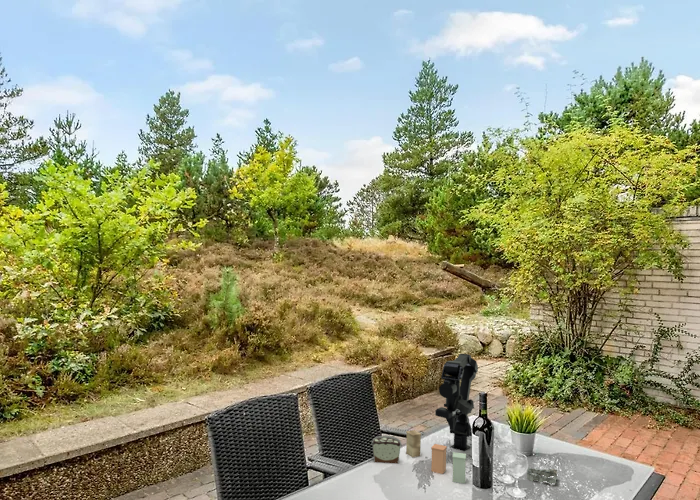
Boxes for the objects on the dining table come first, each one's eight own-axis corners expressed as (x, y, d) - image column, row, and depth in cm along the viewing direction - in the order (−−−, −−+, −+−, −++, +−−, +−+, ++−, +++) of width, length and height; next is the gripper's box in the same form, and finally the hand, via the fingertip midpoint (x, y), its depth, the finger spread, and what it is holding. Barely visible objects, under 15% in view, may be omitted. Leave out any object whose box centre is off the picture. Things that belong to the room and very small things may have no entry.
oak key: (414, 451, 193) (414, 430, 194) (420, 455, 189) (421, 433, 189) (405, 453, 192) (406, 431, 192) (412, 457, 187) (412, 435, 188)
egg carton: (558, 480, 173) (558, 469, 174) (555, 488, 167) (555, 477, 167) (528, 473, 179) (529, 462, 179) (525, 480, 173) (525, 469, 173)
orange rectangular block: (434, 467, 179) (434, 443, 179) (446, 470, 177) (446, 446, 177) (430, 471, 175) (431, 447, 175) (442, 474, 173) (443, 450, 173)
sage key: (452, 476, 171) (452, 452, 171) (465, 478, 170) (466, 453, 170) (452, 481, 167) (452, 456, 167) (465, 483, 166) (465, 458, 166)
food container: (401, 460, 187) (401, 436, 188) (401, 467, 181) (402, 441, 181) (371, 458, 188) (372, 434, 189) (370, 465, 182) (371, 440, 183)
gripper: (459, 400, 179) (458, 440, 179) (480, 391, 193) (480, 428, 192) (434, 394, 187) (434, 433, 186) (457, 386, 200) (456, 422, 200)
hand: (452, 429), depth 191 cm, fingers closed
